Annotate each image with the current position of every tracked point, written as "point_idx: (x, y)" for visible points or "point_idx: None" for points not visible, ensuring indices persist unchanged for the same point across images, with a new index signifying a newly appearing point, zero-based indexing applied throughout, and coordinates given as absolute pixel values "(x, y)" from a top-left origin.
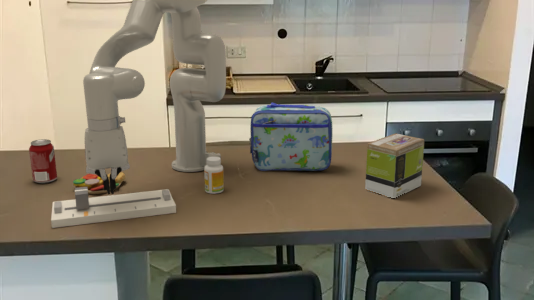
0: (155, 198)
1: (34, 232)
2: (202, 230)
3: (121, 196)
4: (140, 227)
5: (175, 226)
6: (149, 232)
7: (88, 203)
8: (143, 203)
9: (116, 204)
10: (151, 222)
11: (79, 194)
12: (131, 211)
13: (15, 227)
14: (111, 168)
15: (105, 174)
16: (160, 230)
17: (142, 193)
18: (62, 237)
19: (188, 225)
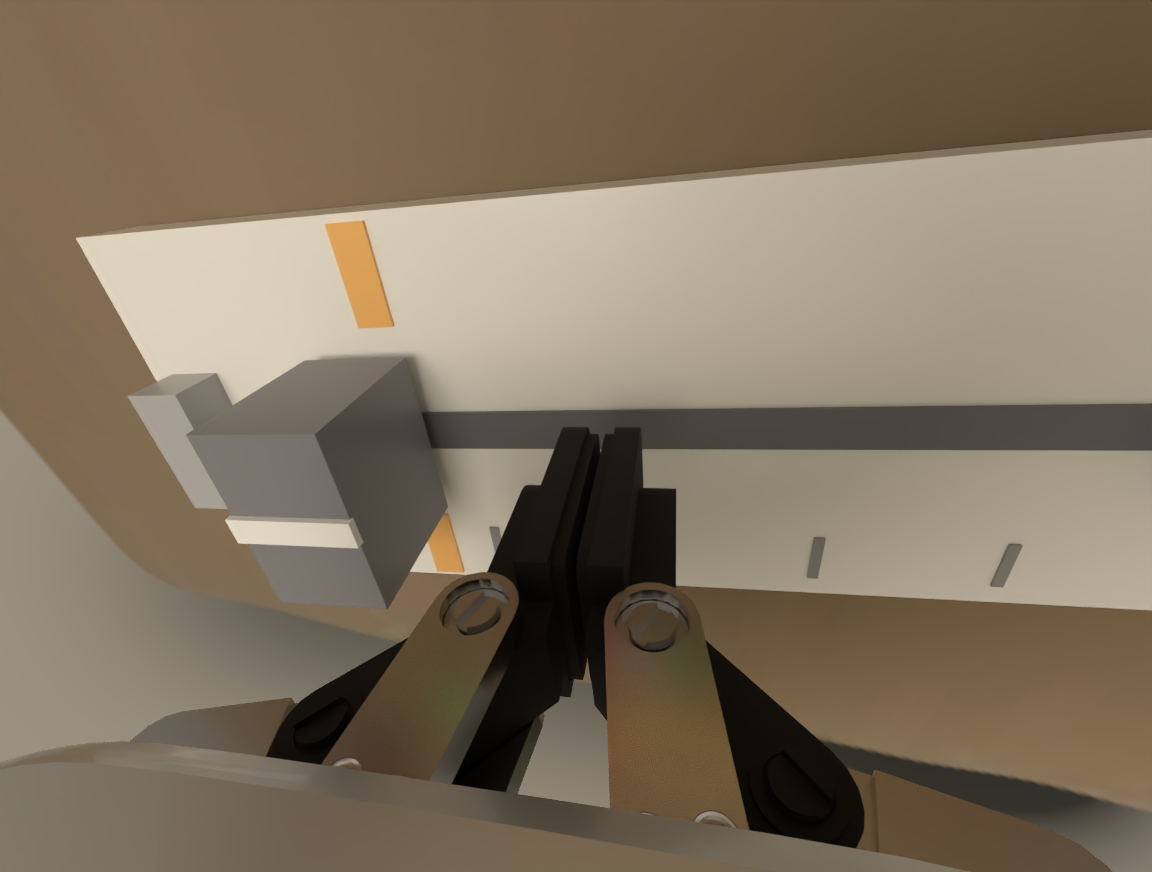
0: (1102, 427)
1: (228, 546)
2: (1117, 776)
3: (739, 258)
4: (783, 657)
5: (993, 705)
6: (816, 709)
7: (428, 537)
8: (916, 496)
9: (664, 451)
10: (870, 628)
11: (316, 602)
12: (768, 586)
13: (92, 466)
14: (615, 768)
15: (515, 784)
16: (883, 712)
17: (1036, 212)
18: (386, 626)
19: (1080, 719)
